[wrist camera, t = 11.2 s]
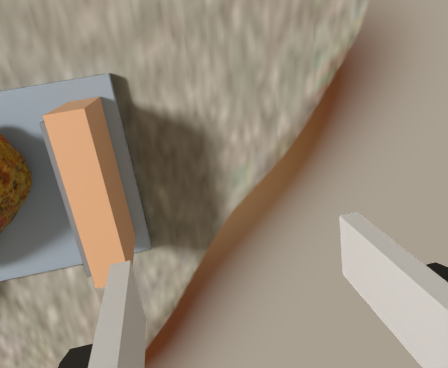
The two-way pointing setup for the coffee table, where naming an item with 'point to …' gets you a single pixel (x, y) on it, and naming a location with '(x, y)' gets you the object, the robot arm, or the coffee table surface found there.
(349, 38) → the coffee table surface
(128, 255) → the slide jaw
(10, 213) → the rock
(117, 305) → the robot arm
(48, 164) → the base
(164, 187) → the coffee table surface
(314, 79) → the coffee table surface
